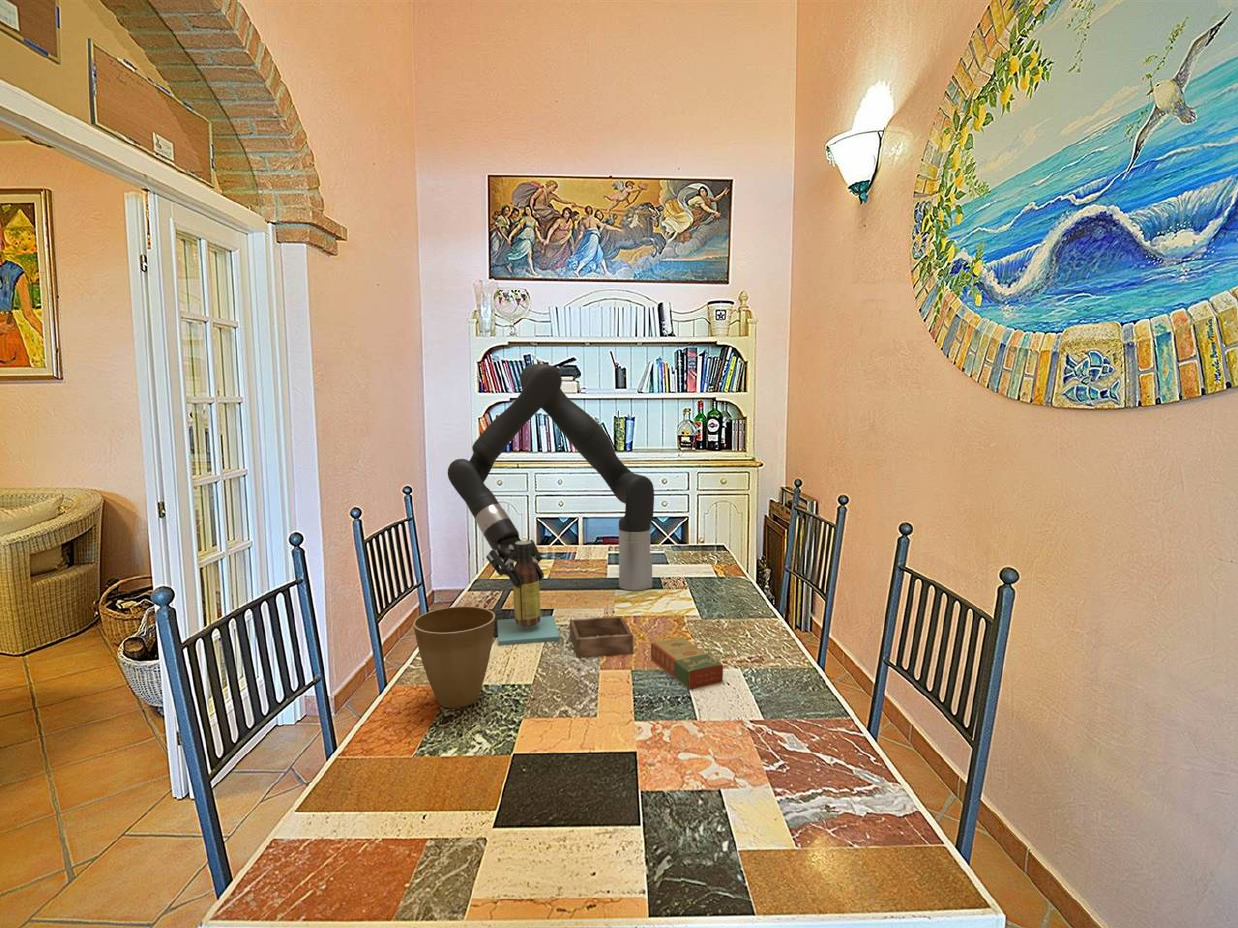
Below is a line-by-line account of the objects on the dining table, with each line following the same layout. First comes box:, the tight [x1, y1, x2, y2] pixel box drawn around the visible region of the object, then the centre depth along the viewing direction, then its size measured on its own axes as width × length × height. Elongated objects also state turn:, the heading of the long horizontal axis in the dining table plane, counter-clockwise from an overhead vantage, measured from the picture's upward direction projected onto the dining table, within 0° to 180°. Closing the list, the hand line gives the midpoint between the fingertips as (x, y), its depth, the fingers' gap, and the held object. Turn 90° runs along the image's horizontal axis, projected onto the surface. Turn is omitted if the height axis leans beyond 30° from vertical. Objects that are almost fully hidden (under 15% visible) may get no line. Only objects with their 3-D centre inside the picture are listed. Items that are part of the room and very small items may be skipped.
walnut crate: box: [569, 615, 634, 658], centre depth 154 cm, size 13×13×4 cm
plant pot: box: [412, 605, 496, 709], centre depth 127 cm, size 15×15×16 cm
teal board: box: [497, 615, 560, 646], centre depth 162 cm, size 14×14×1 cm
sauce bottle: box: [512, 539, 542, 626], centre depth 160 cm, size 7×6×20 cm
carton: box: [650, 636, 724, 690], centre depth 140 cm, size 8×16×4 cm, turn 25°
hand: (531, 582), depth 159 cm, fingers closed on sauce bottle, 6 cm apart
